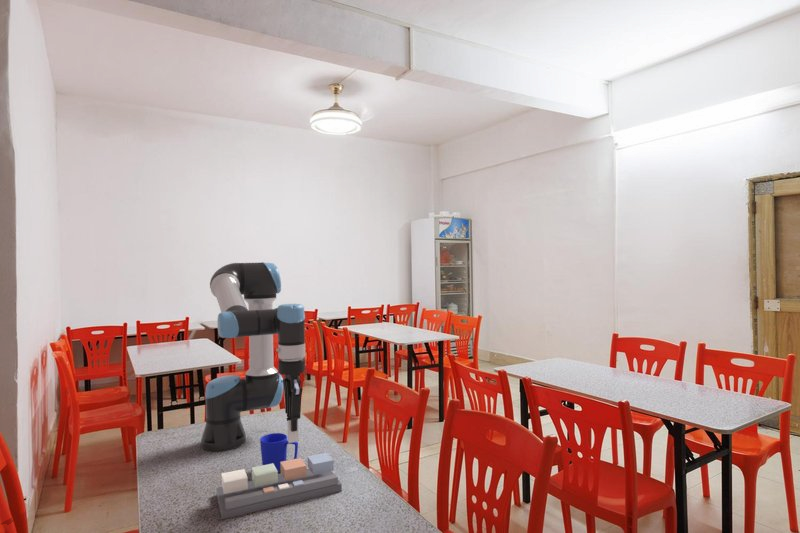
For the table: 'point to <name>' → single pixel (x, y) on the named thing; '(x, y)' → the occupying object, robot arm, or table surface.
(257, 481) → the sage key
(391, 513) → the table surface
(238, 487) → the ivory key
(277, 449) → the mug
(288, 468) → the terracotta key
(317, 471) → the blue key
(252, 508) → the keypad
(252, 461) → the table surface
